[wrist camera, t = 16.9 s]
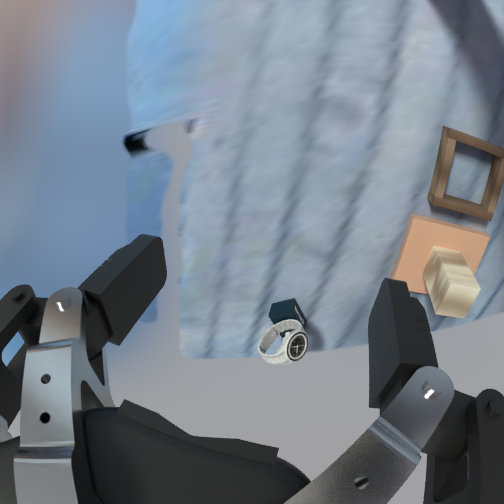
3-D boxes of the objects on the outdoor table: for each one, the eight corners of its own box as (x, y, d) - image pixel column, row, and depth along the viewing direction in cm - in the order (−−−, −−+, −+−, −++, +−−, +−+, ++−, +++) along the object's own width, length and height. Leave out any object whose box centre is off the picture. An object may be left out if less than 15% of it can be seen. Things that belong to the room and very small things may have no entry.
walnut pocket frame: (443, 126, 29) (450, 128, 27) (501, 148, 27) (510, 152, 25) (427, 198, 34) (432, 204, 32) (483, 213, 33) (490, 221, 30)
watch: (316, 318, 50) (309, 367, 41) (276, 326, 54) (263, 373, 45) (305, 295, 48) (295, 344, 39) (263, 305, 52) (246, 352, 43)
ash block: (433, 245, 36) (451, 283, 29) (460, 251, 35) (480, 288, 28) (422, 273, 39) (435, 314, 31) (448, 278, 38) (464, 318, 31)
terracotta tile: (411, 213, 36) (413, 218, 35) (486, 232, 34) (490, 237, 32) (388, 282, 43) (389, 287, 42) (459, 294, 40) (461, 299, 39)
